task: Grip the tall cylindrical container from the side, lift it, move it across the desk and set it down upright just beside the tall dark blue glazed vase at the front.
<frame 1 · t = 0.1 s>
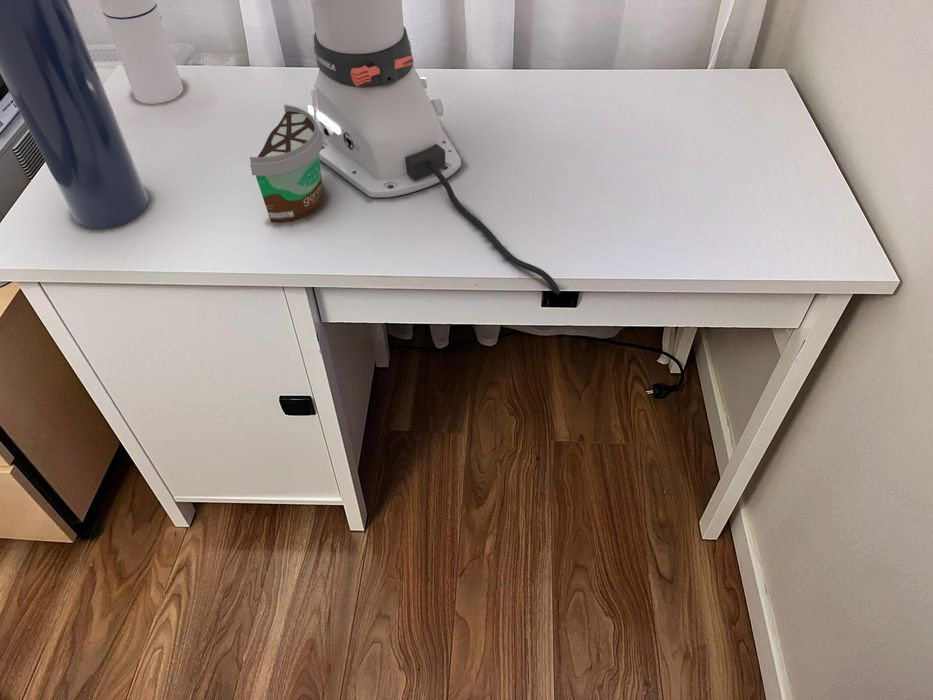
food container: (307, 203, 93), on the table
vase: (111, 206, 92), on the table
cylindrical container: (159, 92, 111), on the table
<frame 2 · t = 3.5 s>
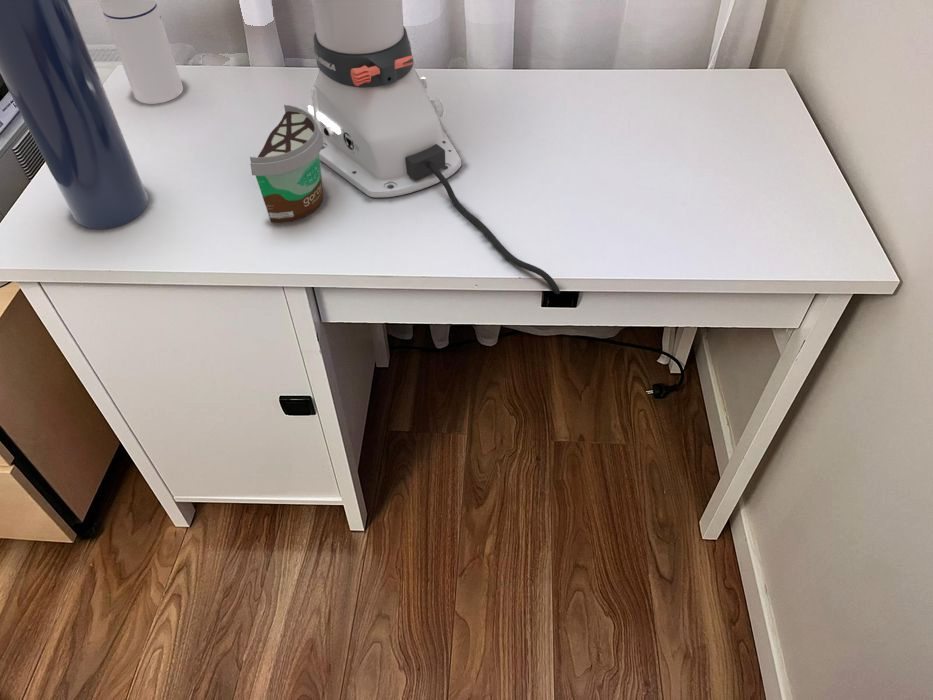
nothing on the table moved.
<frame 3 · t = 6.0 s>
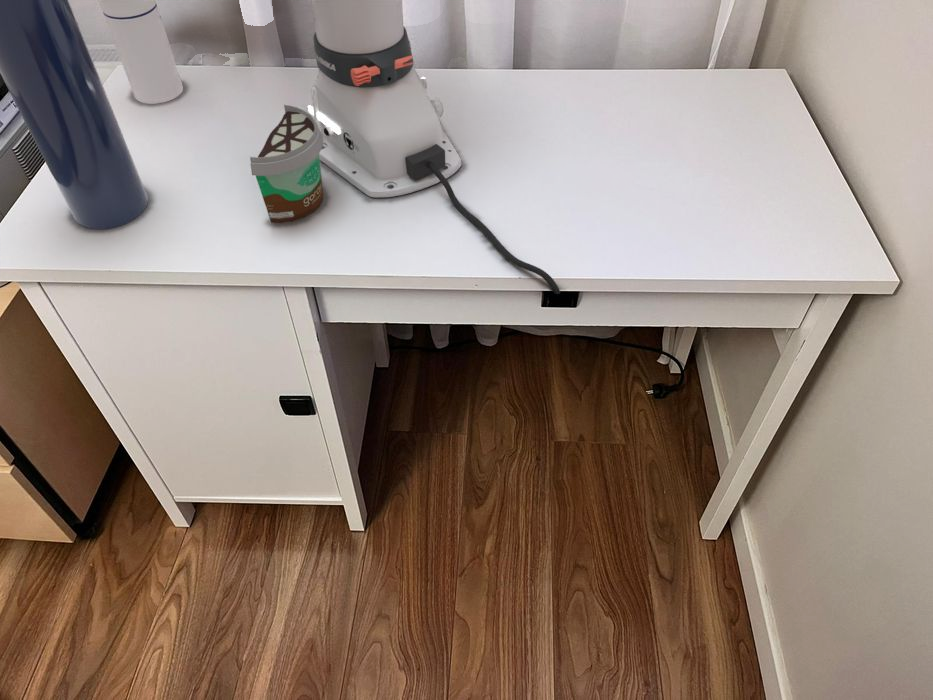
nothing on the table moved.
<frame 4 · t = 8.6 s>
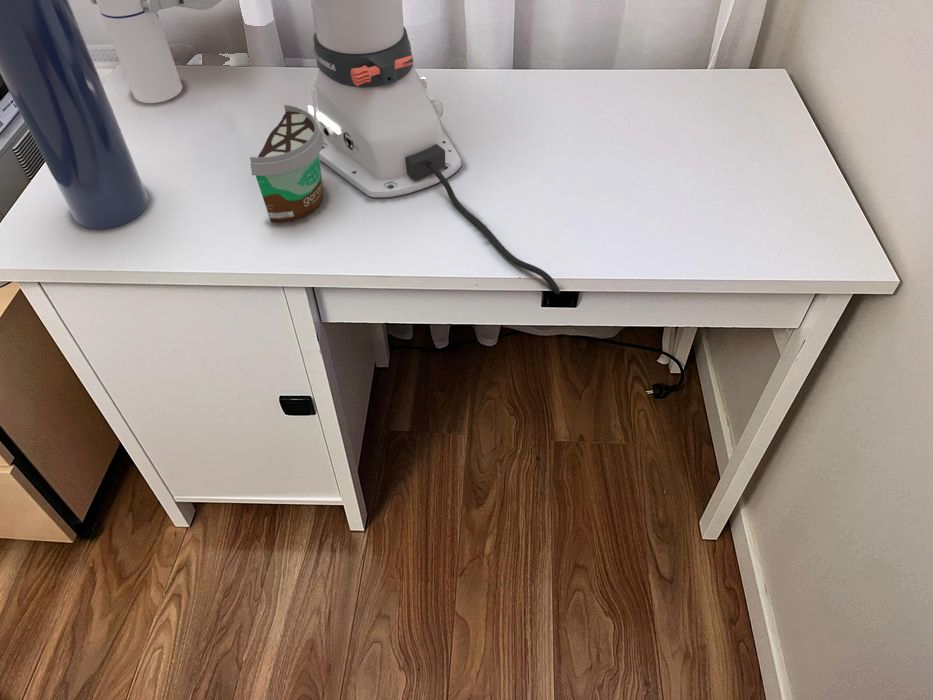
hand: (120, 3, 100), 14 cm above the table, tool horizontal, fingers closed on cylindrical container, 7 cm apart
cylindrical container: (158, 91, 111), on the table, touching gripper
everything else where it was.
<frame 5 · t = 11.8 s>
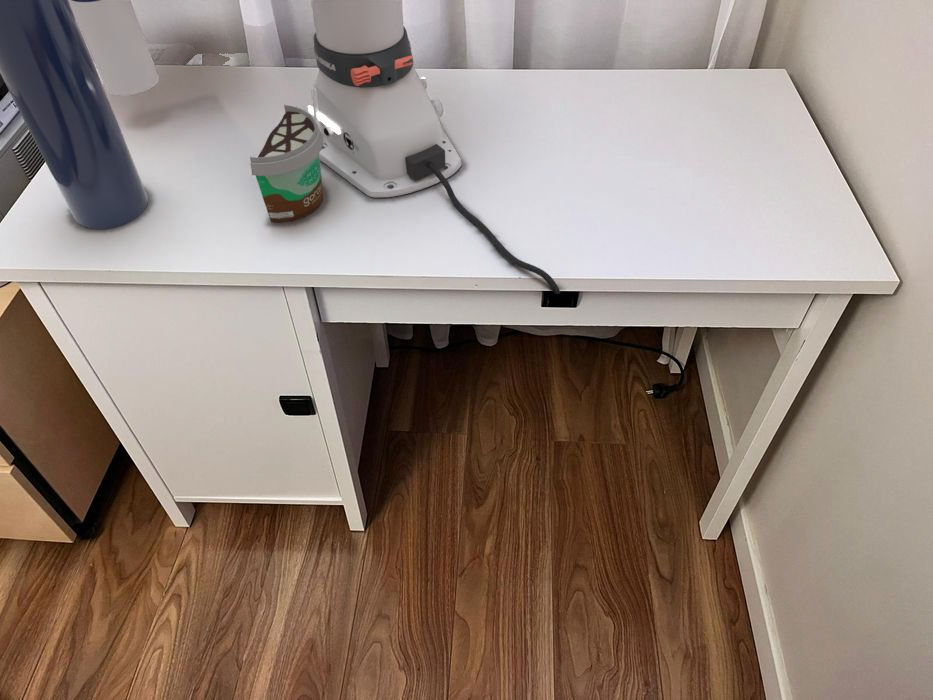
cylindrical container: (133, 83, 102), point 5 cm above the table, touching gripper
everything else where it was.
when the fingers open (13 cm above the table, at t = 15.4 s): cylindrical container stays where it is, on the table.
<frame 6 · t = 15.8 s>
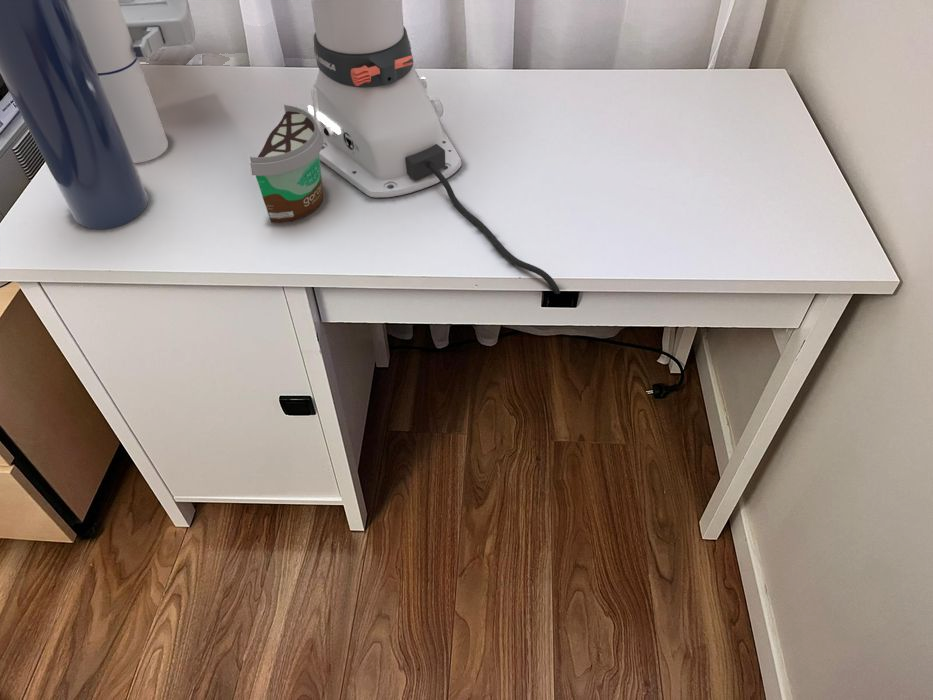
hand: (101, 55, 90), 14 cm above the table, tool horizontal, fingers open, 8 cm apart
cylindrical container: (141, 148, 101), on the table
everything else where it was.
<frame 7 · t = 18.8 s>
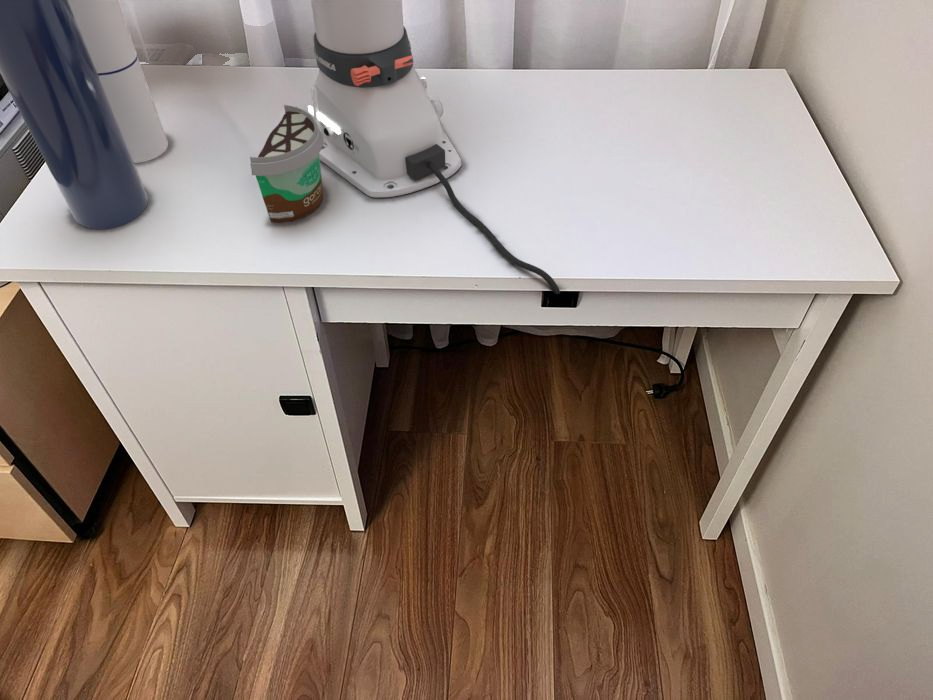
nothing on the table moved.
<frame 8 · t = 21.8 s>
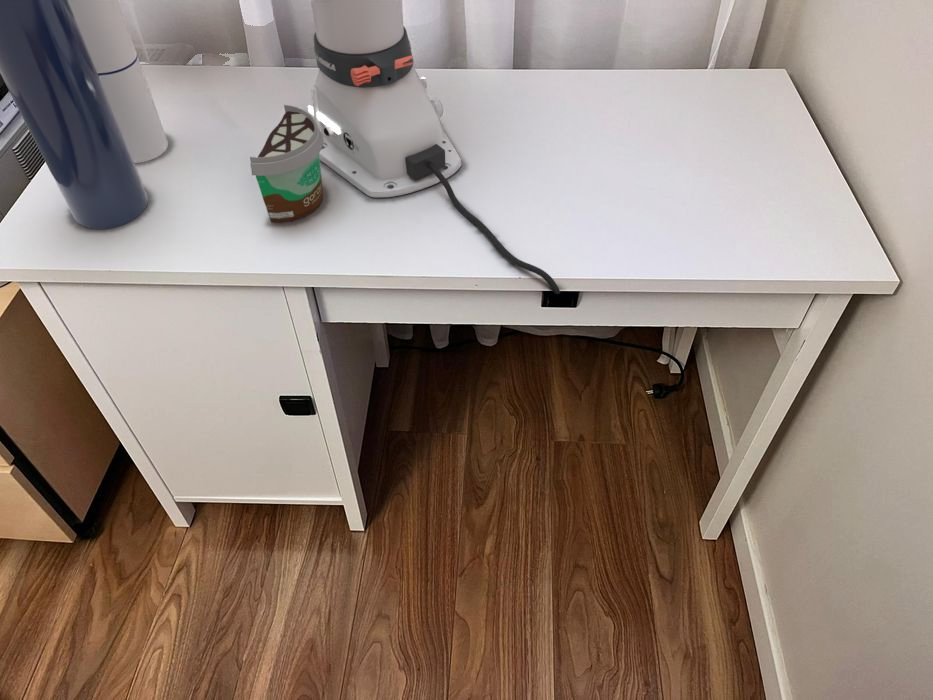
nothing on the table moved.
at the end: cylindrical container inside the target area on the table beside the vase (0.2 cm from its centre), on the table; cylindrical container tilted 0°; the gripper is holding nothing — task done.
